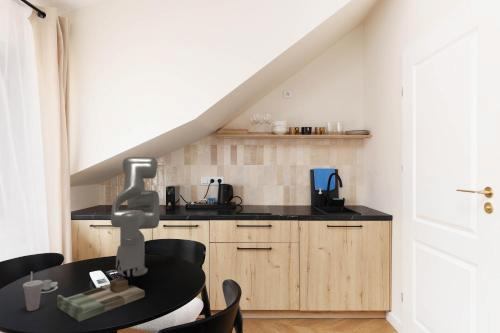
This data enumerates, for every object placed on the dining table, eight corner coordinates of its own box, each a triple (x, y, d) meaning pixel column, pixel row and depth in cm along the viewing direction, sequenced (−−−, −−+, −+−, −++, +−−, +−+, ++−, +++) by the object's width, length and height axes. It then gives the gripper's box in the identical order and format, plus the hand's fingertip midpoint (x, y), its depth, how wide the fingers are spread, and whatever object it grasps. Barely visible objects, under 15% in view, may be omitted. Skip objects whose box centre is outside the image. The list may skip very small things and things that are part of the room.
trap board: (57, 307, 118) (57, 295, 118) (120, 286, 139) (120, 276, 139) (79, 321, 107) (79, 308, 107) (144, 296, 128) (144, 285, 128)
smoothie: (29, 305, 120) (29, 269, 120) (46, 304, 120) (47, 268, 120) (18, 312, 113) (18, 274, 113) (36, 312, 114) (37, 274, 114)
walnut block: (109, 290, 128) (109, 280, 128) (121, 286, 132) (121, 277, 132) (116, 293, 125) (116, 283, 125) (127, 289, 129) (127, 280, 129)
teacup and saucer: (54, 284, 141) (55, 275, 141) (63, 288, 137) (63, 279, 137) (32, 291, 134) (32, 281, 134) (40, 295, 129) (40, 285, 129)
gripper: (139, 237, 141) (139, 277, 140) (108, 243, 128) (108, 288, 128) (149, 239, 136) (149, 281, 136) (118, 246, 124) (118, 292, 124)
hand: (129, 284), depth 132 cm, fingers closed
